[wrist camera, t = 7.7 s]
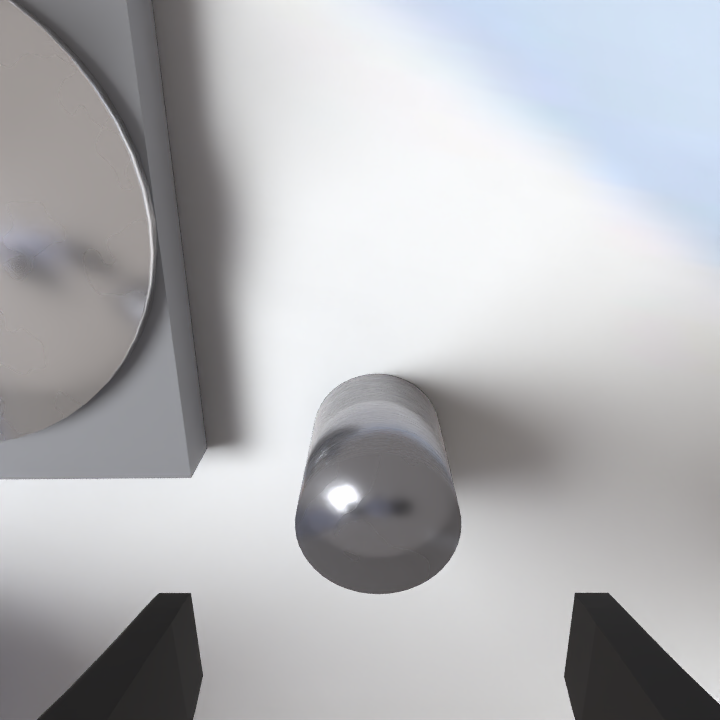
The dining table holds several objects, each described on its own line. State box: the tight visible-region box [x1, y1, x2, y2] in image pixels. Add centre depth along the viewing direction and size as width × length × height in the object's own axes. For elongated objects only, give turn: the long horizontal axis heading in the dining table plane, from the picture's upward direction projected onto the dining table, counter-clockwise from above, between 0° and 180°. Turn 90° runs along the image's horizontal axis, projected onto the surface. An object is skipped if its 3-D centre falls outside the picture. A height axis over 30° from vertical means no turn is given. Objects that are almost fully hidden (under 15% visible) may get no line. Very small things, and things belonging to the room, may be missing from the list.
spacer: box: [295, 374, 461, 594], centre depth 17 cm, size 4×4×5 cm
